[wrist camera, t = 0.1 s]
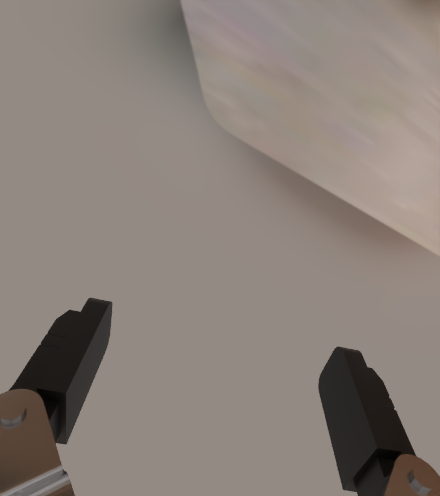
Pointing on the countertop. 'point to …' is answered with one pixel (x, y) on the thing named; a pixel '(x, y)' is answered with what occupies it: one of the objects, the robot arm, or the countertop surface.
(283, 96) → the countertop surface
